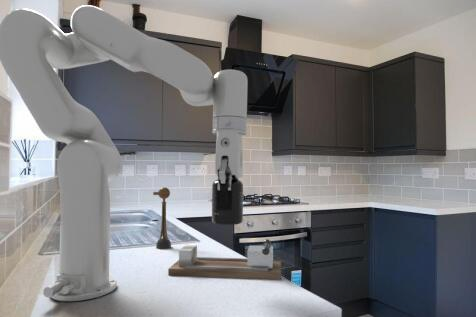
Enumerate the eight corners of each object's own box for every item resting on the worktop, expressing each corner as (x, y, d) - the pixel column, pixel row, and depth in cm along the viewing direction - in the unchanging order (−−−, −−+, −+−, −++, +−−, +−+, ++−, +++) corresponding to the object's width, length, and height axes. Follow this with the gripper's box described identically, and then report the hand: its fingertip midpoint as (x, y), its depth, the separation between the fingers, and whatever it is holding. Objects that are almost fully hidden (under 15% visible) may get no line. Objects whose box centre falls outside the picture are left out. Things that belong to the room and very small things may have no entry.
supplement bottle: (227, 219, 75) (229, 168, 75) (249, 223, 70) (250, 168, 71) (204, 222, 70) (206, 167, 71) (225, 226, 65) (227, 167, 66)
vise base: (281, 279, 74) (280, 255, 74) (168, 275, 77) (168, 252, 78) (280, 267, 84) (280, 245, 84) (180, 263, 87) (180, 243, 88)
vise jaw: (272, 271, 74) (272, 248, 74) (246, 270, 75) (246, 247, 75) (273, 259, 85) (272, 238, 85) (250, 258, 85) (250, 238, 86)
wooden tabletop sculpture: (151, 249, 104) (152, 187, 105) (154, 246, 109) (154, 187, 110) (170, 248, 105) (170, 187, 106) (171, 245, 109) (172, 186, 110)
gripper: (241, 120, 62) (239, 213, 61) (249, 132, 79) (248, 205, 78) (204, 120, 63) (201, 212, 62) (219, 132, 80) (217, 204, 79)
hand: (227, 207), depth 70 cm, fingers closed on supplement bottle, 6 cm apart
